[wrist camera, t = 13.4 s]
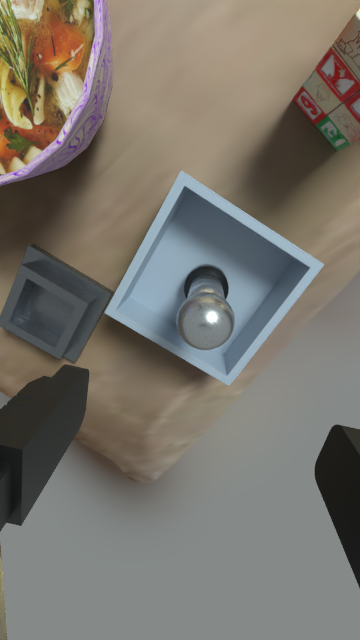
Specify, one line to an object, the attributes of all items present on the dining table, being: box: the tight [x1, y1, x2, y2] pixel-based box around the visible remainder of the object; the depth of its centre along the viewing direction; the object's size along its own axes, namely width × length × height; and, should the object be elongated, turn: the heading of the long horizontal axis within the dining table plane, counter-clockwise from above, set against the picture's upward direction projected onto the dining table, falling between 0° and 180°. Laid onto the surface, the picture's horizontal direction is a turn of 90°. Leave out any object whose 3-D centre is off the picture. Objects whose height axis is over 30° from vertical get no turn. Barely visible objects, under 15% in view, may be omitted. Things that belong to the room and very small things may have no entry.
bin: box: [105, 171, 324, 386], centre depth 29 cm, size 14×14×6 cm
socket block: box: [0, 244, 114, 363], centre depth 33 cm, size 10×10×4 cm
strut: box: [176, 264, 235, 350], centre depth 25 cm, size 4×4×14 cm
